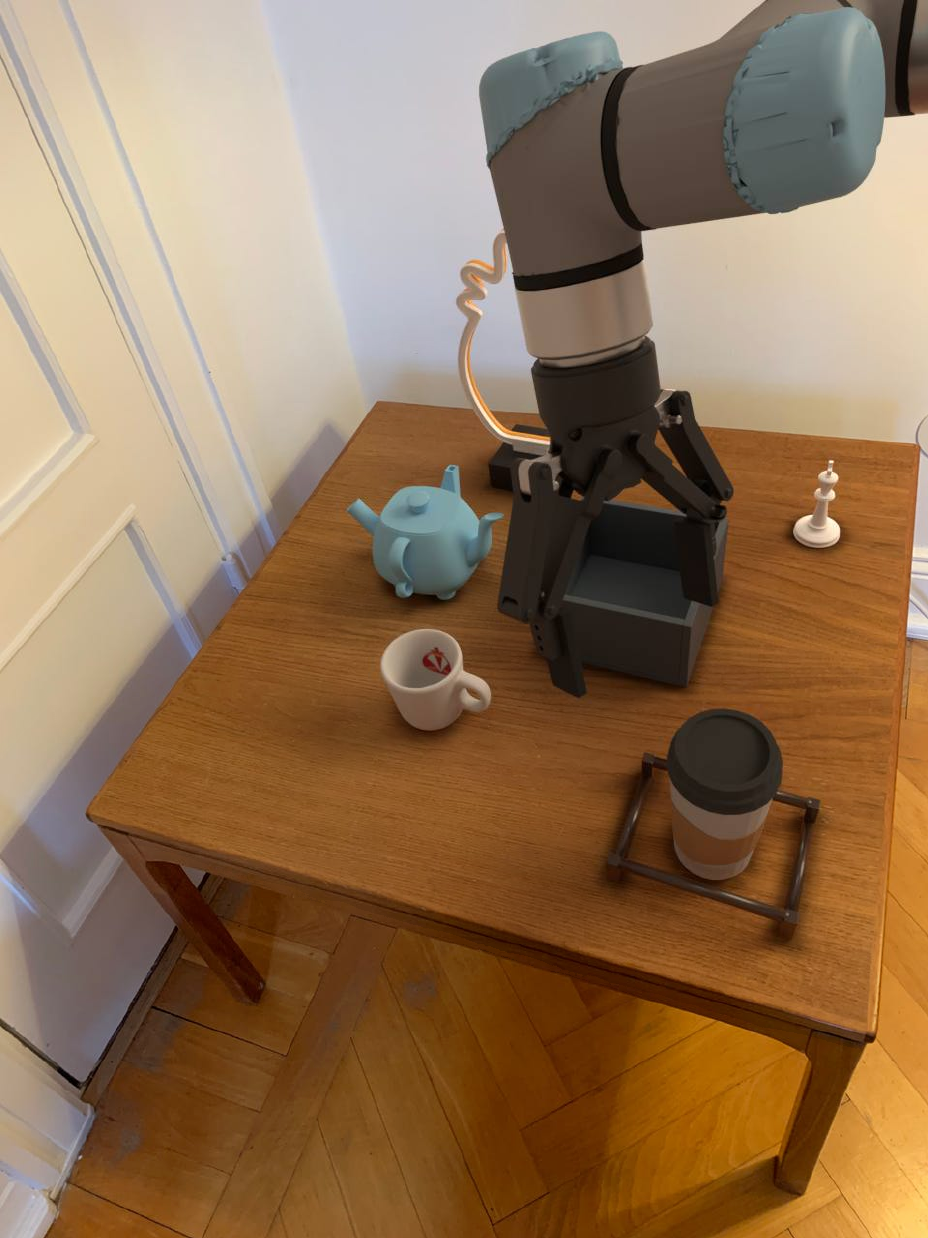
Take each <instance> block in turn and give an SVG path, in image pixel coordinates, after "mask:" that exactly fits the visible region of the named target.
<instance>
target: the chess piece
mask: <svg viewBox="0 0 928 1238" xmlns="http://www.w3.org/2000/svg"><path fill="white" fill-rule="evenodd" d="M834 462H835V461H834V460H831V459H830V460H829V461H828V464H827V470H825V471H821V472H820V473H819V474H818V476H817V480H818V484H819V488H817V489H816V490H815V491H814V493H813V496H814V498H815V499H816V500H817V502H816V506H815V508H814V511H813V513H812V514H809V515H805V516H802V517H801V518H799V519H798V520H797V521H796V522H795V524H794V527H793V529H792V530H793V531H792V532H793V536H794V538H795V539H796V540H797V542H799V543H800V544H802V545H804V546H805V547H810V548H813V549H814V548H815V549H823V548H829V547H831V546H834V545H835V544H836V543H837V542H839V540H840V537H841V528H840V525H839V524H838V523H837V522H836V521H835V520H834V519H833V518H831V517H829V516H828V512H829V511H828V510H829V509H828V508H829V502H831V501H833V500H834V499H835V498H836V492H835V491H834V490H833V489H834V486H835V485H836V484H837V483H838V482H839V475H838V474H837V473H836V472H834V471H833V468H834Z"/></svg>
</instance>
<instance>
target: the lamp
mask: <svg viewBox="0 0 928 1238" xmlns="http://www.w3.org/2000/svg"><path fill="white" fill-rule="evenodd" d="M492 258H493V259H492V260H493V265H491V264H488V263H486V262H484V261H482V260H481V259H471V260H468V261H467V262H466V263H465V264H464V265H463V267H461V269H460V271H459V277H460V280H461V283H462V284H463V285H464V286H465V287H466V288H465V289H463V290H462V292H461V293H459V294H458V295H457V297H456V299H455V304H456V307H457V309H458V310H459V311H460V312H461V313H462V314H463V315H464V316H465V317H466V319H467V322H466V324H465V325H464V327H463V330H462V334H461V337H460V340H459V344H458V345H459V346H458V352H457V365H458V375H459V379H460V383H461V386H462V390H463V392H464V395H465V397H466V399H467V401H468V403H469V404H470V407H471V409H472V410H473V412H474V414H475V415H476V417H477V418H478V419H479V421H480V422H481V424H482V425H483V426H484V428H485V429H486V430H487V431H488V432H489V433H490V434H491V435H492V436H494V437H495V438H496V439H497V440H499V441H501V442H502V443H501V445H500V446H499V448H498V449H497V450H496V451H495V453H494V455H493V456H492V457H491V459H490V460H489V461H488V463H487V467H488V473H489V479H490V486H491V488H495V489H500V490H505V491H510V492H513V486H512V478H511V465H512V462H513V461H514V460H515V459H517V458H523V459H527V460H533V459H536V458H539V457H542V456H545V455H548V453H549V448H550V434H549V432H548V429H547V428H546V427H544V428H543V427H539V426H532V425H524V424H519V423H515V425H514V426H513V427H512V429H511V430H509V429H507V428H506V427H504V426H503V425H502V424H501V423H500V422H499V421H498V420H497V419H496V417H495V416H494V415H493V414H492V412H491V411H490V409H489V407H488V406H487V404H486V403H485V401H484V400H483V398H482V396H481V394H480V392H479V390H478V388H477V385H476V382H475V379H474V376H473V371H472V366H471V345H472V340H473V337H474V334H475V331H476V328H477V327H478V324H479V322H480V321H481V319H482V318H483V316H484V312H483V311H482V310H481V309H480V308H479V307H478V306H477V305H475V303H474V302H473V301H483V300H485V299H486V298H487V296H488V295H489V294H488V290H487V288H485V283H488V284H489V285H490V284H491V285H497V284H499V283H500V282H501V281H502V280H503V278H504V276H505V273H506V272H507V266H508V255H507V240H506V236H505V232H504V227H503V228H502V229H500V231H499V232H498V234H497V235H496V236H495V237H494V240H493V243H492ZM483 281H484V282H485V283H484V282H483ZM557 479H558V475H557V476H556V479H555V481H557Z"/></svg>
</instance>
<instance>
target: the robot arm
mask: <svg viewBox="0 0 928 1238" xmlns="http://www.w3.org/2000/svg"><path fill="white" fill-rule="evenodd" d="M623 64H624V62H623V61H622V60H621V57H620V53H619V48H618V45H617V41H616V39H615V38H614V37H613V36H612V34H610V33H609V32H606V31H600V30H599V31H593V32H587V33H582V34H578V35H574V36H571V37H567V38H562V39H558V40H555V41H552V42H549V43H547V44H545V45H541V46H538V47H531V48H529V49H526V50H522V51H519V52H516V53H514V54H511V55H509V56H505V57H503V58H500V59H498V60H496V61H494V62H493V63H491V64H490V65H489V66H488V67H487V68H486V69H485V71H484V72H483V74H482V75H481V77H480V81H479V85H478V98H479V104H480V113H481V117H482V123H483V124H482V125H483V130H484V132H483V133H484V138H485V144H486V151H487V153H486V156H485V160H486V167H487V168H488V169H489V172H490V176H491V181H492V185H493V189H494V193H495V198H496V202H497V207H498V211H499V215H500V219H501V223H502V227H503V228H504V232H505V236H506V240H507V243H506V246H507V250H508V253H509V258H510V263H511V268H512V272H511V275H512V279H513V285H514V291H515V296H516V302H517V307H518V313H519V316H520V323H521V327H522V333H523V336H524V341H525V347H526V352H527V353H528V354H529V355H530V356H532V357H533V358H535V361H534V362H533V363H532V367H531V368H530V374H531V379H532V384H533V389H534V395H535V399H536V405H537V409H538V414H539V417H540V420H541V421H542V423H543V424H544V426H545V429H548V432H549V434H550V448H549V453H548V455H545V456H542V457H539V458H536V459H533V460H527V459H523V458H517V459H515V460H514V461H513V462H512V465H511V478H512V486H513V491H512V494H513V500H512V506H511V513H510V520H509V525H508V533H507V538H506V546H505V552H504V559H503V565H502V571H501V578H500V583H499V591H498V597H497V604H496V608H497V612H498V613H500V614H502V615H504V616H507V617H509V618H511V619H514V620H516V621H518V622H520V623H523V624H525V625H528V624H529V628H530V632H531V637H532V640H533V644H534V649H535V651H536V652H537V654H538V655H540V656H541V657H543V658H546V663H547V668H548V672H549V676H550V680H551V681H550V682H551V685H552V687H555V688H557V689H559V690H561V691H563V692H565V693H567V694H568V695H570V696H573V697H575V698H578V699H581V698H582V697H584V696H586V695H587V694H588V689H587V685H586V680H585V675H584V670H583V665H582V663H581V660H580V655H579V651H578V646H577V641H576V636H575V631H574V626H573V621H572V616H571V611H570V610H567V609H565V608H562V607H560V606H561V603H562V601H563V598H564V595H565V592H566V589H567V587H568V584H569V581H570V578H571V575H572V573H573V570H574V567H575V564H576V561H577V558H578V556H579V553H580V550H581V547H582V544H583V542H584V539H585V536H586V533H587V530H588V528H589V525H590V522H591V520H592V519H594V518H596V517H597V516H598V515H599V513H600V511H601V508H602V505H603V503H604V501H609V500H614V499H615V498H617V496H619V495H620V494H621V493H622V492H623V491H624V490H625V489H631V488H634V487H636V486H638V485H639V484H641V483H642V481H643V482H645V483H646V484H647V485H648V486H649V487H650V488H651V489H653V490H654V491H656V493H658V495H660V496H661V497H663V498H664V499H665V500H666V501H667V502H669V503H670V504H671V505H672V506H673V507H675V509H676V510H679V511H681V512H682V513H684V514H686V515H687V518H683V517H680V518H678V519H676V520H675V521H674V527H675V535H676V543H677V551H678V558H679V566H680V574H681V582H682V589H683V597H684V598H685V599H688V600H691V601H694V602H698V603H701V604H704V605H707V606H710V607H713V606H714V607H715V606H716V605H717V604H719V602H720V601H719V592H718V591H717V582H716V573H715V563H714V556H715V555H716V550H717V545H716V536H715V526H714V521H718V522H721V521H723V520H724V519H725V518H727V514H728V509H727V508H728V507H727V506H726V505H723V504H722V503H723V502H729V501H731V499H732V498H733V497H734V493H735V492H734V490H735V489H734V486H733V484H732V482H731V481H730V479H729V477H728V474H727V473H726V471H725V470H724V467H723V466H722V464H721V463H720V461H719V459H718V457H717V456H716V453H715V451H714V450H713V448H712V447H711V445H710V443H709V442H708V440H707V437H706V435H705V434H704V432H703V431H702V429H701V427H700V425H699V423H698V421H697V419H696V415H695V410H694V406H693V401H692V396H691V392H689V391H688V390H683V389H682V390H681V389H668V388H661V387H662V386H661V380H660V373H659V365H658V356H657V349H656V343H655V341H654V340H653V339H651V338H650V337H649V336H647V335H648V334H649V333H650V331H651V329H652V328H653V326H654V322H653V314H652V307H651V299H650V293H649V292H650V291H649V285H648V277H647V270H646V269H647V268H646V263H645V258H644V257H645V256H644V247H643V240H642V239H643V237H642V232H648V231H656V230H658V229H664V228H671V227H679V226H685V225H691V224H697V223H698V224H700V223H706V222H712V221H719V220H726V219H733V218H740V217H746V216H748V217H749V216H754V215H760V214H769V215H777V214H780V213H781V214H786V213H791V212H793V211H796V210H798V209H799V208H802V207H807V206H810V205H814V204H815V205H816V204H818V203H819V204H820V203H823V202H827V201H831V200H834V199H838V198H842V197H845V196H847V195H849V194H851V193H853V192H854V191H856V190H857V189H858V188H859V187H861V186H862V184H864V182H865V181H866V179H867V178H868V177H869V175H870V173H871V171H872V170H873V167H874V165H875V163H876V159H877V158H876V157H877V150H878V149H877V148H878V146H879V145H880V144H881V142H882V137H883V132H884V131H883V130H884V124H885V119H888V118H899V117H901V118H902V117H911V116H915V115H925V114H926V115H927V114H928V0H764V1H763V2H762V3H760V4H759V5H758V6H757V7H755V8H754V9H753V10H752V11H750V12H749V13H748V14H747V15H746V16H745V17H743V18H742V19H741V20H740V21H739V22H737V23H736V24H735V25H734V26H733V27H731V28H730V29H729V30H728V31H727V32H725V33H724V34H723V35H722V36H721V37H720V38H719V39H717V40H715V41H713V42H712V41H711V42H710V43H707V44H704V45H701V46H699V47H695V48H692V49H689V50H685V51H682V52H680V53H677V54H674V55H670V56H668V57H664V58H661V59H658V60H655V61H652V62H647V63H645V64H640V65H635V66H627V67H623ZM658 432H659V433H660V435H661V437H662V438H663V440H664V443H666V445H667V447H668V448H669V450H670V452H671V453H672V455H673V457H674V458H675V460H676V462H677V464H678V465H679V467H680V469H681V470H679V469H678V468H677V467H676V466H675V465H674V464H673V463H674V460H672V458H670V456H668V455H667V454H666V453H665V452H664V451H663V450H661V449H660V447H658V446H657V445H656V443H655V442H656V440H657V439H656V438H657V435H658ZM681 471H682V472H681ZM557 475H558V479H557V481H555V479H556V476H557ZM574 491H575V492H576V493H577V495H579V496H581V497H582V496H583V497H585V498H584V499H583V500H581V499H580V500H581V501H580V500H579V499H575V498H572V495H573V493H574ZM543 592H544V597H542V596H541V595H542V593H543ZM714 607H713V608H714Z"/></svg>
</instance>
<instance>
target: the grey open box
mask: <svg viewBox="0 0 928 1238" xmlns="http://www.w3.org/2000/svg"><path fill="white" fill-rule="evenodd" d="M584 498H585V497H583V496H581V497H580V500H579V501H581V500H583V499H584ZM680 517H683V518H687V515H686V514H684V513H682V512H681V511H680V510H678V509H672V508H665V507H659V506H654V505H648V504H640V503H635V502H628V501H622V500H617V499H611V500H609V501H604V503H603V505H602V508H601V511H600V513H599V515H598V516H597V517H596V518H594V519H592V520H591V522H590V525H589V528H588V530H587V533H586V536H585V539H584V542H583V544H582V547H581V550H580V553H579V556H578V558H577V561H576V564H575V567H574V570H573V573H572V575H571V578H570V581H569V584H568V587H567V589H566V592H565V595H564V598H563V601H562V603H561V606H560V607H562V608H565V609H567V610H570V611H571V616H572V621H573V626H574V631H575V636H576V641H577V646H578V651H579V655H580V660H581V664H586V665H588V666H589V665H590V666H594V667H598V668H602V669H606V670H611V671H615V672H619V673H623V674H627V675H630V676H631V675H632V676H635V677H640V678H645V679H648V680H653V681H655V682H656V681H657V682H661V683H665V684H669V685H673V686H677V687H682V688H688V685H689V682H690V679H691V676H692V673H693V670H694V667H695V664H696V661H697V659H698V655H699V653H700V649H701V646H702V643H703V640H704V637H705V634H706V630H707V628H708V625H709V622H710V620H711V619H710V618H711V615H712V613H713V609H714V607H715V606H713V607H710V606H707V605H704V604H701V603H698V602H694V601H691V600H688V599H685V598H684V597H683V589H682V582H681V574H680V566H679V558H678V551H677V543H676V535H675V527H674V521H675V520H676V519H678V518H680ZM729 523H730V519H729V518H728V517H725V519H724V520H723V521H721V522H718V521H714V526H715V536H716V545H717V550H716V555H715V556H714V563H715V573H716V582H717V591H718V593H719V592H720V588H721V586H722V582H723V576H724V568H725V567H724V566H725V560H726V550H727V542H728V531H729ZM541 596H542V597H544V592H543V593H542V595H541Z"/></svg>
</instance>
